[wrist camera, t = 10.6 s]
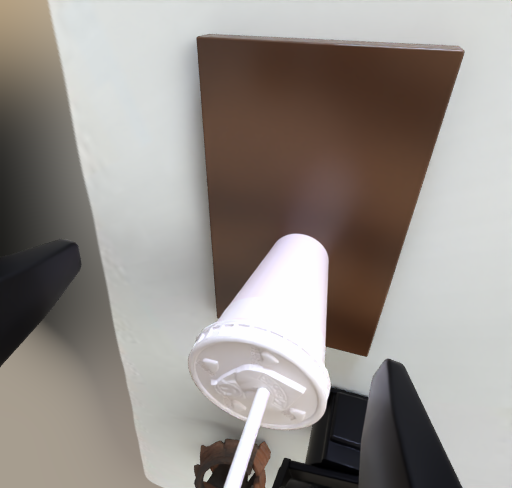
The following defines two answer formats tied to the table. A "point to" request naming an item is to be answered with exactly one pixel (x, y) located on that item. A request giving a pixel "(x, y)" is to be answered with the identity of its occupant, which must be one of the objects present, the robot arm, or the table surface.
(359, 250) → the board
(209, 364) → the smoothie
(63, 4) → the table surface
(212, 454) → the brown irregular piece
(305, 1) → the table surface
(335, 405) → the robot arm
